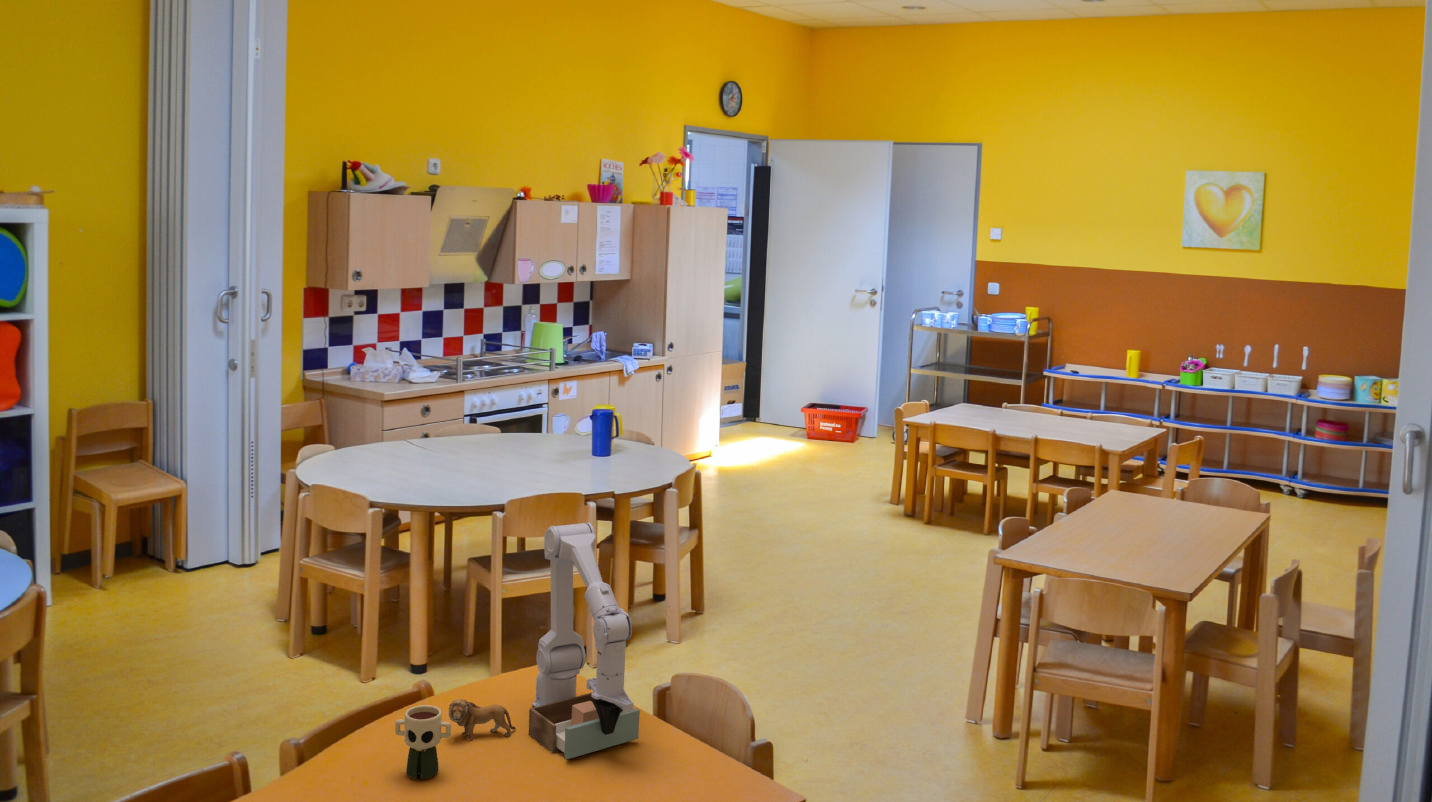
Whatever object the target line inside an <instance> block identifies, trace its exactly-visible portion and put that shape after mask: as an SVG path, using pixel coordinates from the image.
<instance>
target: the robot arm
mask: <svg viewBox="0 0 1432 802" xmlns="http://www.w3.org/2000/svg"><path fill="white" fill-rule="evenodd" d="M595 530H596V529H595V528H594V526H593V525H592V524H591V523H590V522H589V521H588V522H582V523H572V524H565V525H550V526H548V528H547V529H546V530H545V532H544V535H543V537H544V539H543V540H544V542H543V543H544V547H543V548H544V553H543V554H544V559H545V560H548V561H550V562H549V563H550V629H549V631H548V632H547V633H546V634H544V635H543V636H542V637H540V639H539V640H538V646H537V647H538V648H537V652H536V659H535V661H536V665H537V668H538V671H539V672H538V673H537V676H536V679H535V680H536V681H535V686H536V687H535V702H532V706H533V707H537V706H541V705H545V704H549V703H553V702H557V701H561V700H565V699H569V698H573V697H577V675H579V674H580V671H581V670H582V669H583V668H584V666H585V664H586V659H587V656H586V650H585V645H584V638H583V637H582V636H581V635H580V633H577V632H576V631H575V630H574V566H575V568H576V570H577V571H578V574H579V577H581V579H582V581H583V583H584V586H585V587H586V591H585V593H584V599H585V601H586V604H587V606H588V608H589V612H590V614H591V616H592V619H593V621H594V623H593V625H592V633H593V636H594V641H595V642H594V646H595V650H597V653H596V654H597V655H596V677H593V678H590V679H589V678H587V679H586V689H587V690H589V691H591V690H592V692H594V693H592V692H591V693H592V694H591V697H593V698H594V700H593V704H594V706H595V708H596V710H597V713H598V716H599V720H600V725H601V729H602V733H603V734H605V735H608V734H611V733H613V732H614V729H615V726H616V723H617V720H618V717H619V715H620V713H621V712H622V710H623V712H624V713H629V712H633V709H634V706H635V705H634V703H635V702H633V701H632V700H631V698H630V697H629V695H628V694H627V692H626V691H625V672H626V671H625V669H626V668H625V667H626V650H627V649H626V648H627V647H626V645H627V641H629V640H630V639H631V637H632V634H633V626H632V622H631V621H632V620H631V618H630V615H629V613H627V611H625V610H624V609H623V608H622V607H620V606H619V605H618V602H617V599H616V597H615V594H614V592H613V589H612V587H611V585H610V584H609V583H606V582H604V581H603V578H602V575H601V571H600V568H599V566H598V562H597V558H596V555H595V550H596V544H597V535H596V531H595Z"/></svg>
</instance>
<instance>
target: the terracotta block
mask: <svg viewBox="0 0 1432 802" xmlns="http://www.w3.org/2000/svg"><path fill="white" fill-rule="evenodd" d="M595 719H599V716H598V713H597V710H596V708H595V706H594V704H593V702H591V701H587V702H583V703H579V704H575V705H572V724H571V726H573V725H577V724H580V723H584V722H588V721H591V720H595Z"/></svg>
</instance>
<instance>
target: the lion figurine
mask: <svg viewBox="0 0 1432 802" xmlns="http://www.w3.org/2000/svg"><path fill="white" fill-rule="evenodd" d="M448 717H449V719H450V720H451V721H452V722H453V723H456V724H457V725H458V726H459V727H463V728H464V731H463V732H462V733H461V735H462V736H463V737H465V736H466V738H465V740H466V741H468V742H470V741H472V740H473V738H474V729H475V726H476V725H484V724H487V723H488V722H489V723H490V721H494V727H491V728H490V730H489V731H490V732H491V733H496V732H497V731H498V729H499V728H500V727H501V728H503V729H504V730H505V731H506V732H505V733H504V734H503V736H504V737H505V738H508V737H511V730H513V731H515V730H516V729H517V727H516V726H513V724H512V722H511V717H510V713H509V712H508V710H507V709H506V708H505V707H504V706H503V705H501V704H496V703H495V704H491V705H487V706H478V705H476V704H475V702H470V701H468V700H466V699H461V698H457V699H454V700H453V701H452V702H451V703H449V707H448ZM505 717H506V718H505ZM506 719H507V721H506Z"/></svg>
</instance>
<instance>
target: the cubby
mask: <svg viewBox="0 0 1432 802" xmlns="http://www.w3.org/2000/svg"><path fill="white" fill-rule="evenodd" d="M592 693H594V692H593V691H592V692H589V693H585V694H581V695H576V697H573V698H569V699H565V700H561V701H557V702H553V703H549V704H545V705H541V706H537V707H534V706H533V707H529V710H528V711H529V714H528V715H529V716H528V735H529V736H530V737H531V738H532V739H534V741H536V742H537V743H538V744H540V745H541V746H543V748H545V749H547V750H548V751H549V752H550V753H552V754H555V753H558V752H559V753H560V752H562V751H561V750H560V749H558V748H557V747H556V725H555V724H557V723H561V722H564V721H568V720H572V705H575V704H579V703H583V702H587V701H591V702H593V700H594V698H593V697H591V694H592ZM622 712H623V710H622Z"/></svg>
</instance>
